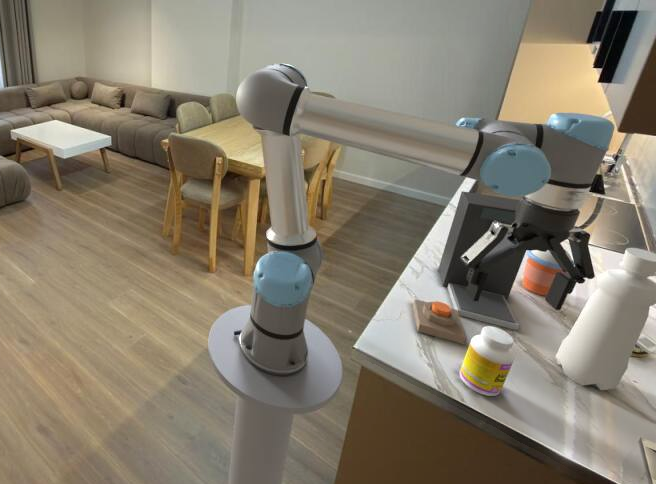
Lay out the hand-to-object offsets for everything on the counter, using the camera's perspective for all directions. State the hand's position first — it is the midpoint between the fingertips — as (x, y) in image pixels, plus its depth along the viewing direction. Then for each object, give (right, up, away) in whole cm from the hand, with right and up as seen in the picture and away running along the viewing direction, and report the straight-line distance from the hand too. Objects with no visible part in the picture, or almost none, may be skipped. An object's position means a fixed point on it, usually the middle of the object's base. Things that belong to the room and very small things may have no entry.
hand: (511, 301), depth 76 cm
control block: (+1, -13, +21) cm, 25 cm away
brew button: (+1, -10, +20) cm, 22 cm away
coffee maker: (+18, -10, +30) cm, 36 cm away
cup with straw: (+38, -9, +33) cm, 51 cm away
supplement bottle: (-2, -19, +6) cm, 20 cm away
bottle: (+22, -18, +7) cm, 29 cm away
